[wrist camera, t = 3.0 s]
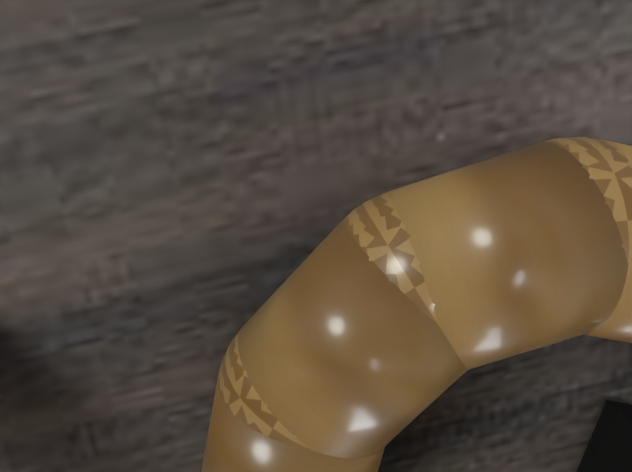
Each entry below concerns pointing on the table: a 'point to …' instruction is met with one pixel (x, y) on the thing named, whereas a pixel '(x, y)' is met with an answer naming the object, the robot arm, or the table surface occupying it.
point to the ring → (426, 304)
